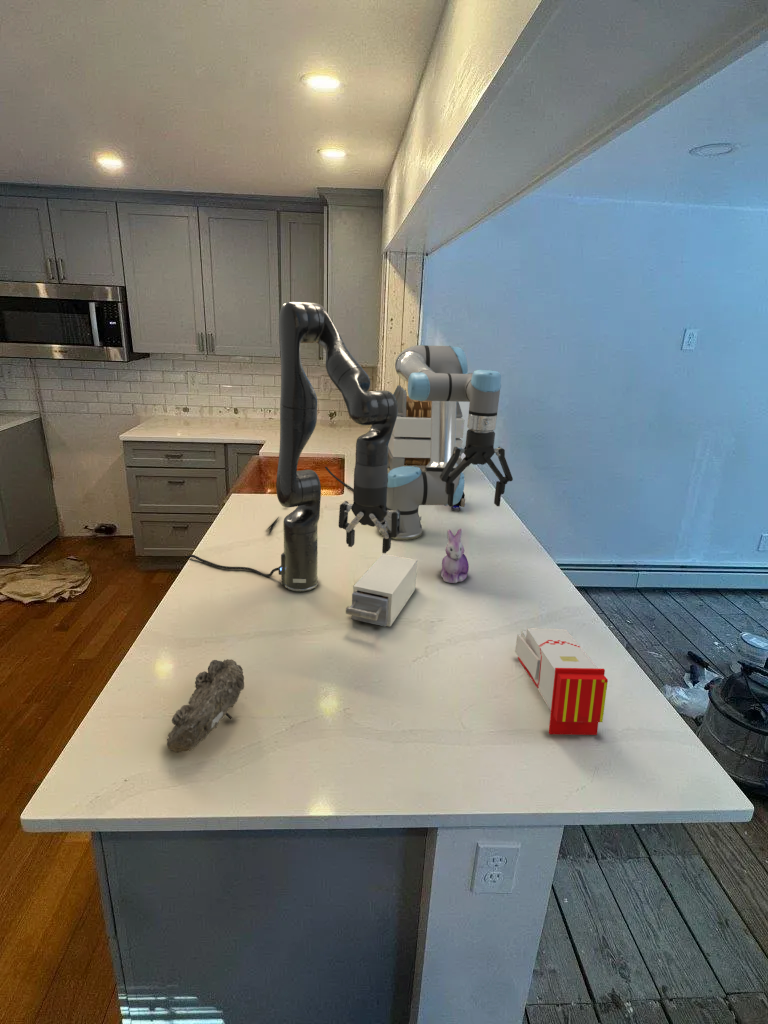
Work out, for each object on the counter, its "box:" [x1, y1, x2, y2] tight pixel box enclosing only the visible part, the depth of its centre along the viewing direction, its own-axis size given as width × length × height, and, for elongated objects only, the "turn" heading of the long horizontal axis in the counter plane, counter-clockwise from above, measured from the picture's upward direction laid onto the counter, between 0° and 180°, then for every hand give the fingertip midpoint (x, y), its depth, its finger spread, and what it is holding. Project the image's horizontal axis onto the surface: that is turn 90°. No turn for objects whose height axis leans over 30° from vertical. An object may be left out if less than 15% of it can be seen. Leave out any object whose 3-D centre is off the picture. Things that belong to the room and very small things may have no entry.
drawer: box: [345, 591, 388, 627], centre depth 146 cm, size 26×9×7 cm, turn 160°
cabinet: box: [352, 553, 418, 627], centre depth 151 cm, size 22×10×9 cm, turn 161°
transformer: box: [387, 384, 465, 471], centre depth 268 cm, size 34×33×41 cm
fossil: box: [166, 658, 245, 754], centre depth 106 cm, size 22×10×15 cm
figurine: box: [440, 528, 470, 584], centre depth 167 cm, size 9×10×15 cm
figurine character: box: [450, 491, 466, 511], centre depth 229 cm, size 7×8×15 cm
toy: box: [514, 627, 609, 736], centre depth 119 cm, size 12×13×30 cm
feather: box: [266, 507, 287, 535], centre depth 206 cm, size 2×28×2 cm
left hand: (368, 548), depth 131 cm, fingers open, 8 cm apart
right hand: (473, 505), depth 159 cm, fingers open, 13 cm apart
